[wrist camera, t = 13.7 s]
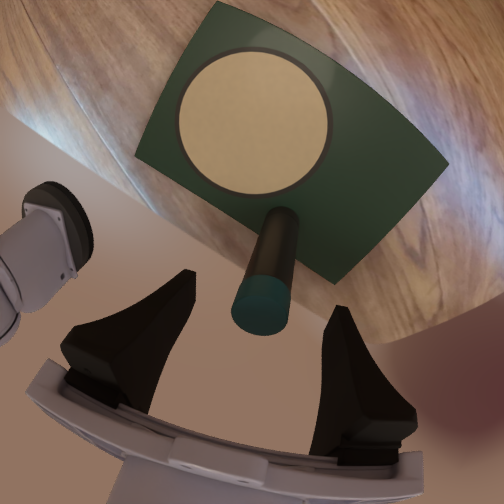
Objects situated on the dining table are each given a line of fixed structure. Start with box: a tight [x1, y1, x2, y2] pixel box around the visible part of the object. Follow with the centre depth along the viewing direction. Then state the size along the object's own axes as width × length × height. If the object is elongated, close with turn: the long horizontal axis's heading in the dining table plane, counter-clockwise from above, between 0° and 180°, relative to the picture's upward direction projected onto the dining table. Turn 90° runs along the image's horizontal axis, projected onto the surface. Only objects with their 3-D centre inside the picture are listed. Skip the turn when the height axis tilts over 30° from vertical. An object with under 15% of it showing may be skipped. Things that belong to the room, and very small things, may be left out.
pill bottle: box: [231, 206, 299, 336], centre depth 17 cm, size 3×3×10 cm
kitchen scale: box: [135, 1, 449, 285], centre depth 18 cm, size 20×14×1 cm
